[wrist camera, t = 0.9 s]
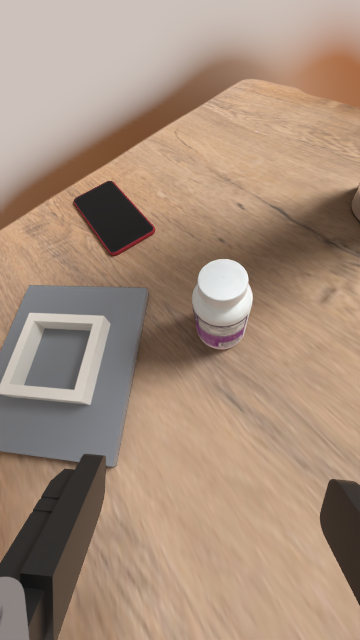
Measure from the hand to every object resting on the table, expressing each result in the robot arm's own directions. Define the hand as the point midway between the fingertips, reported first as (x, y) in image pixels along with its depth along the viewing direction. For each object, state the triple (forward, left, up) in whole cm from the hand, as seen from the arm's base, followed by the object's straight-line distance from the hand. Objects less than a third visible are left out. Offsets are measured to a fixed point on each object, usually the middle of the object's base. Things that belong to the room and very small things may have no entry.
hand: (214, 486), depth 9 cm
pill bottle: (-13, 0, -16) cm, 21 cm away
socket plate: (-8, -17, -15) cm, 24 cm away
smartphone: (-31, -17, -16) cm, 39 cm away
